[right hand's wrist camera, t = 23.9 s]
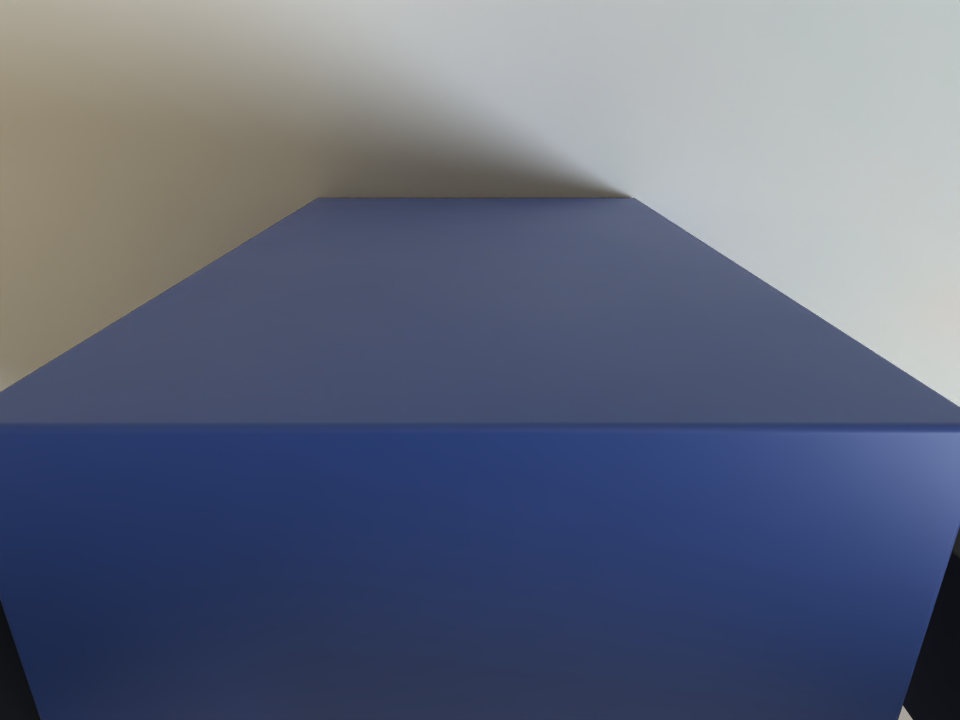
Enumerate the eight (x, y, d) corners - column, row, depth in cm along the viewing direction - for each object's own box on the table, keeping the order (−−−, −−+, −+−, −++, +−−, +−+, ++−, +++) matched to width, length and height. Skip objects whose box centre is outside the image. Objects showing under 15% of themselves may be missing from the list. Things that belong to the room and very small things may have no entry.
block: (315, 197, 16) (-63, 427, 5) (636, 197, 16) (996, 427, 5) (344, 518, 19) (161, 1088, 8) (608, 517, 19) (783, 1088, 8)
